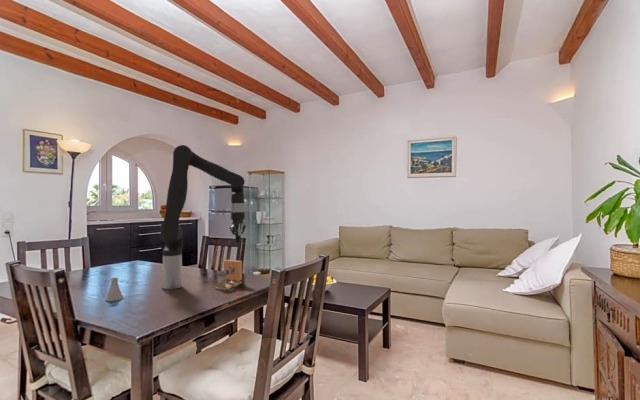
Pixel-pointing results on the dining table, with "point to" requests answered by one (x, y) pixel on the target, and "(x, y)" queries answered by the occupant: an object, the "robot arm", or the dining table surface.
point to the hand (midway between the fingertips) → (238, 242)
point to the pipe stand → (222, 280)
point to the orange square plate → (237, 269)
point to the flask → (114, 291)
